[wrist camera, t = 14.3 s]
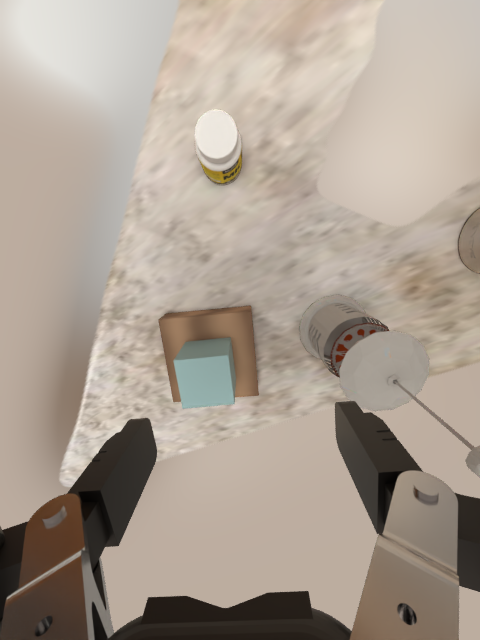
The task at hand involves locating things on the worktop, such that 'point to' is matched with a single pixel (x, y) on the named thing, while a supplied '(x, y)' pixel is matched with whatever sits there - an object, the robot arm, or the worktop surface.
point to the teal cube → (206, 373)
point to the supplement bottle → (218, 146)
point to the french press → (370, 358)
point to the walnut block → (213, 327)
